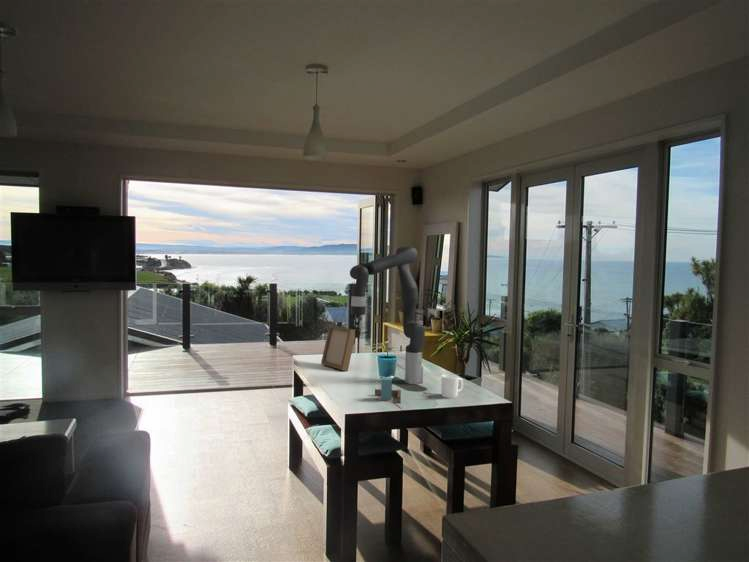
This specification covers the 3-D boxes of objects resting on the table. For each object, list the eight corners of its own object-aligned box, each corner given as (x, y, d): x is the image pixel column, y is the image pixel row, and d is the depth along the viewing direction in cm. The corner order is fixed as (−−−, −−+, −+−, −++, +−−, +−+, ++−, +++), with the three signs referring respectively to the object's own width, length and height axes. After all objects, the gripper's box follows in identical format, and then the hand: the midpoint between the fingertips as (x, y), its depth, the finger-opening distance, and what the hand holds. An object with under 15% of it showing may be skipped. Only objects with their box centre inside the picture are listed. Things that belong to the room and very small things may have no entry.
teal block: (381, 397, 273) (381, 377, 272) (391, 397, 272) (391, 377, 272) (381, 400, 268) (381, 379, 267) (391, 400, 267) (391, 379, 267)
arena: (373, 402, 264) (373, 395, 264) (374, 394, 277) (375, 389, 277) (400, 403, 264) (400, 397, 263) (400, 395, 277) (400, 390, 276)
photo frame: (342, 371, 326) (343, 329, 325) (320, 365, 343) (322, 325, 341) (361, 369, 336) (362, 328, 334) (340, 362, 352) (341, 323, 351)
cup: (438, 394, 281) (438, 375, 280) (458, 392, 285) (459, 373, 285) (446, 399, 273) (447, 378, 272) (467, 396, 278) (468, 377, 277)
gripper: (364, 306, 275) (364, 338, 276) (366, 303, 289) (366, 334, 290) (349, 306, 276) (349, 338, 277) (352, 303, 290) (351, 334, 291)
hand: (357, 336), depth 283 cm, fingers open, 8 cm apart
